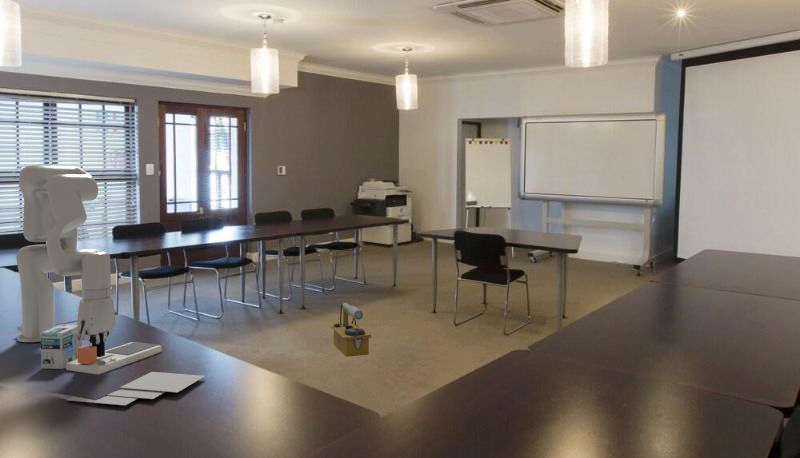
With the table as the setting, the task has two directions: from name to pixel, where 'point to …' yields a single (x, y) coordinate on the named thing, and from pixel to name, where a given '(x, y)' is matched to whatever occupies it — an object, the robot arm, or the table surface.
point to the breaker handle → (87, 354)
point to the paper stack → (145, 388)
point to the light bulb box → (59, 346)
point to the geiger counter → (351, 333)
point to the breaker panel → (116, 358)
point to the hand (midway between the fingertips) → (98, 355)
